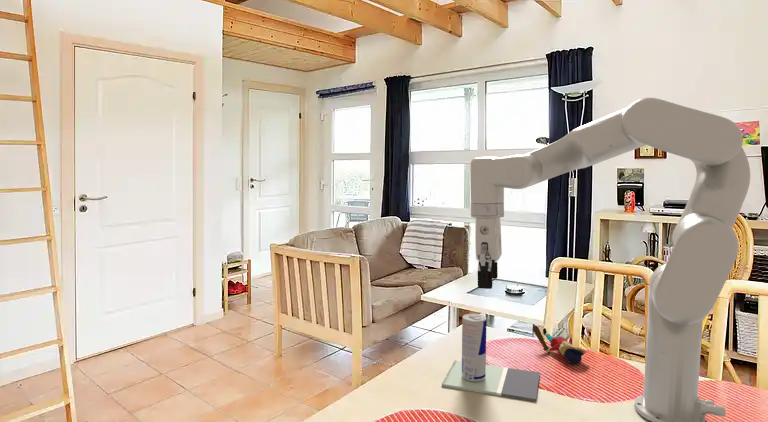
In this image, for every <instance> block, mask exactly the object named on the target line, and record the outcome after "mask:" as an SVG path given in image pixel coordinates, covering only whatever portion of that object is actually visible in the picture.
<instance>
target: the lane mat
mask: <svg viewBox="0 0 768 422" xmlns="http://www.w3.org/2000/svg"><path fill="white" fill-rule="evenodd" d="M540 375H541V373H540V372H539V371H532V370H524V369H518V368H512V367H506V366H505V367H504V366H497V365H489V364H486V377H485V379H484V380H482V381H478V382H472V381H468V380H466V379H464V378H463V377H462V360H456V359H454V361H453V363H452V365H451V367H450V368H449V370H448V372H447V374H446V376H445V377H444V379H443V381H442V383H441V387H442V388H443V387H445V388H450V389H456V390H463V391H469V392H475V393H481V394H486V395H493V396H500V397H505V398H513V399H516V400H517V399H518V400H523V401H530V402H537V399H538V398H537V396H538V389H539V381H540V380H539V379H540Z"/></svg>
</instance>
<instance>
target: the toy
mask: <svg viewBox="0 0 768 422" xmlns="http://www.w3.org/2000/svg"><path fill="white" fill-rule="evenodd" d="M532 332H533V333H534V335H535V337H537V339H538V341H539V343H540V344H541V346H542V347H543V348H542V349H543V351H544V352H546V353H547V354H548V355H550V354H551V352H553V351H559V353H560V354H561V356H563V357H564V359H565V360H566V362H569V363H571V364H573V365H578V364H580V363H581V362H582V361H583V360H582V358H583V357H582V356H584V355H585V354H586V353H587V350H585V349H583V348H581V347H577V346H575V345H574V344H573V334H571V335H570V337H569V340H568V341H567V340H566V339H565V337H564V336H562V335H556V336H552V335H551V333H548V331H547V328H545V327H544V328H543V329H542V332H541V330H540V327H539V326H538V325H536V324H532ZM542 334H543V335H544V336H545V337H546V339H547V340H548V342H549V343H550V346H551V347H549V346H547V344H546V341H545V339H544V336H543V335H542Z"/></svg>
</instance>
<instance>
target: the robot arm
mask: <svg viewBox="0 0 768 422" xmlns="http://www.w3.org/2000/svg"><path fill="white" fill-rule="evenodd" d="M743 143H744V137H743V132H742V130H741V128H740V127H739V125H738V124H737V123H735V122H734V121H733V120H732V119H729V118H727V117H723V116H721V115H717V114H713V113H710V112H707V111H702V110H699V109H695V108H691V107H688V106H684V105H680V104H677V103H675V102H670V101H668V100H665V99H664V100H663V99H660V98H656V97H643V98H640V99H637V100H635V101H634V102H632V103H631V104H630V105H628V106H627V107H624V108H622V109H620V110H617V111H615V112H612V113H610V114H608V115H606V116H603V117H601V118H598V119H596V120H593V121H591V122H588V123H586V124H585V123H584V124H583V125H581V126H578V127H576V128H574V129H572V130H571V131H569V132H568V133H567V134H566V135H564V136H563V137H561V138H560V139H557V140H556V141H554V142H552V143H549V144H547V145H545V146H543V147H542V146H541V147H540V148H538V149H535V150H533V151H530V152H527V153H525V154H515V155H509V156H503V157H499V156H481V157H479V156H477V157H474V158H472V159H471V160H470V164H469V165H470V167H469V170H470V171H469V172H470V175H469V176H470V177H469V179H470V217H471V218H473V219H475V236H474V237H475V238H474V239H475V258H476V260H477V261H478V265H477V288H478V289H484V290H485V289H486V290H487V289H488V290H490V289H493V279H494V280H495V279H497V278H498V276H499V275H498V261H499V259H500V258H501V256H502V254H503V253H502V251H503V250H502V248H503V247H502V226H501V225H502V224H501V218H504V217H505V189H513V190H523V189H527V188H530V187H533V186H534V185H537V184H540V183H542V182H544V181H548V180H550V179H552V178H556V177H558V176H560V175H563V174H566V173H569V172H572V171H576V170H580V169H586V168H589V167H591V166H594V165H597V164H600V163H602V162H604V161H607V160H608V161H609V160H610V159H613V158H615V157H618V156H620V155H623V154H627V153H628V152H632V151H634V150H637V149H640V148H642V147H646V146H648V147H651V148H654V149H657V150H660V151H663V152H666V153H669V154H672V155H674V156H675V155H676V156H677V157H680V158H681V157H682V158H684V159H688V160H690V161H691V162H692V163H693V165H694V167H695V171H696V177H695V181H694V185H693V188H692V190H691V193H690V195H689V198H688V200H687V203H686V204H685V207H684V210H682V211H683V212H682V213H681V216H680V217H679V220H678V221H677V224H676V225H675V227H674V229H673V232H672V234H671V235H672V237H671V239H672V244H673V247H672V250H671V252H670V254H669V257H668V260H667V262H666V263H663V264H662V265H659V266H658V267H657V268H655V269H654V271H653V272H652V274H651V275H650V278H649V281H648V282H649V283H648V295H647V296H648V300H647V301H648V310H647V311H648V312H647V313H648V314H647V331H646V345H645V362H644V363H645V365H644V377H643V378H644V379H643V380H644V381H643V382H644V383H643V395H639V396H638V397H636V398H635V400H634V409H635V410H636V412H637V413H638V414H639V415H640V416H641V417H643V418H644V419H645V420H647V421H648V422H706V416H707V415H713V416H717V417H726V408H725V406H722V405H716V404H715V402H714V400H709V399H701V398H700V397H699V379H700V367H701V366H700V365H701V352H702V351H701V350H702V340H703V339H702V338H703V320H704V319H705V318H706V317H707V316H708V315H709V314H710V313H711V311H712V309H713V308H714V306H715V304H716V302H717V300H718V298H719V296H720V294H721V292H722V290H723V288H724V286H725V284H726V281H727V280H728V278H729V276H730V273H731V270H732V269H733V267H734V265H735V262H736V259H737V257H738V253H739V240H738V237H737V235H736V233H735V231H734V230H733V229H734V226H735V224H736V221H737V218H738V217H739V214H740V212H741V209H742V207H743V204H744V202H745V200H746V198H747V197H746V196H747V194H748V191H749V188H750V183H751V168H750V163H749V159H748V157H747V154H746V152H745V149H744V148H743ZM504 188H505V189H504Z"/></svg>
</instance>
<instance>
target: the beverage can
mask: <svg viewBox="0 0 768 422" xmlns="http://www.w3.org/2000/svg"><path fill="white" fill-rule="evenodd" d="M461 361H462V377H463V378H464V379H466V380H468V381H472V382H478V381H482V380H484V379H485V377H486V365H487V364H486V363H487V317H486V316H484V315H482V314H480V313H479V314H478V313H467V314H463V316H462V326H461Z"/></svg>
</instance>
